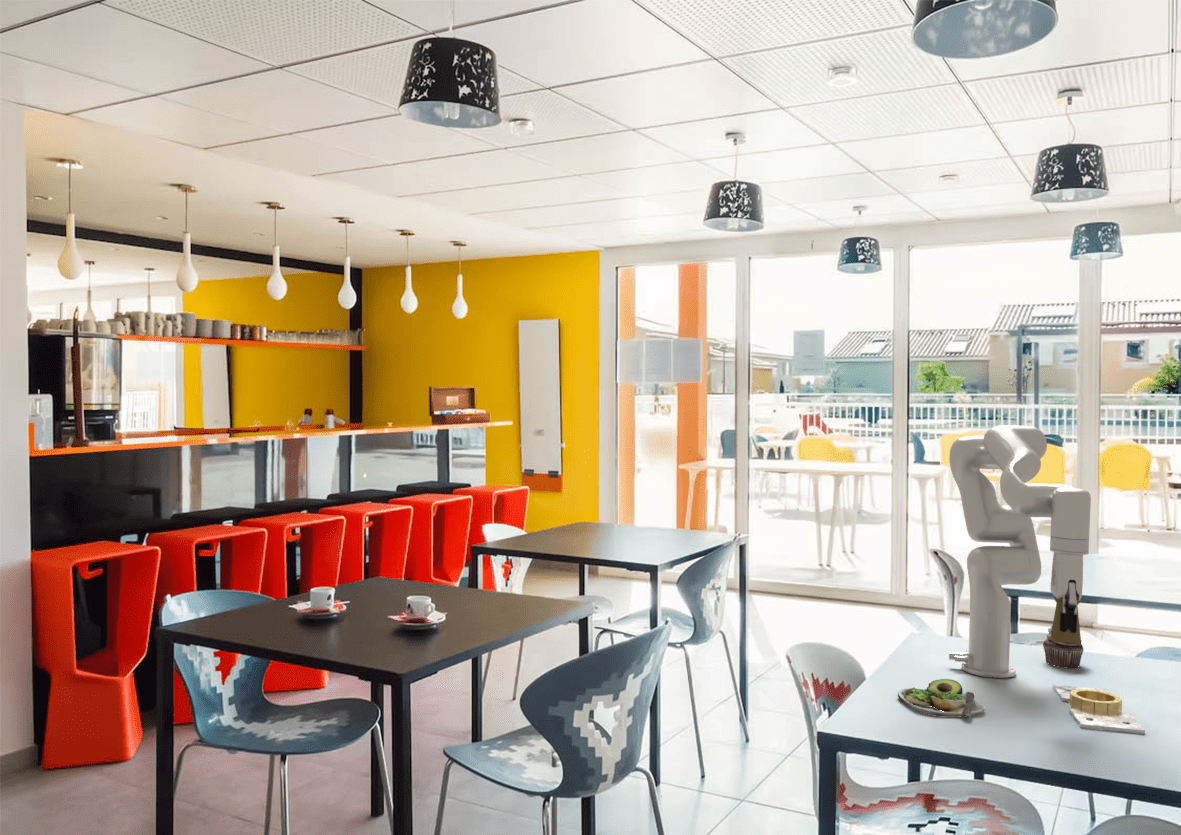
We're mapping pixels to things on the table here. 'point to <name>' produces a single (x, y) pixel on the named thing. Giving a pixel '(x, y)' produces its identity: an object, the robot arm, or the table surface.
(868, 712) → the table surface
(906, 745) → the table surface
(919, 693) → the avocado toast plate
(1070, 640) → the cork
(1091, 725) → the mounting plate with ring
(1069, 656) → the cupcake
